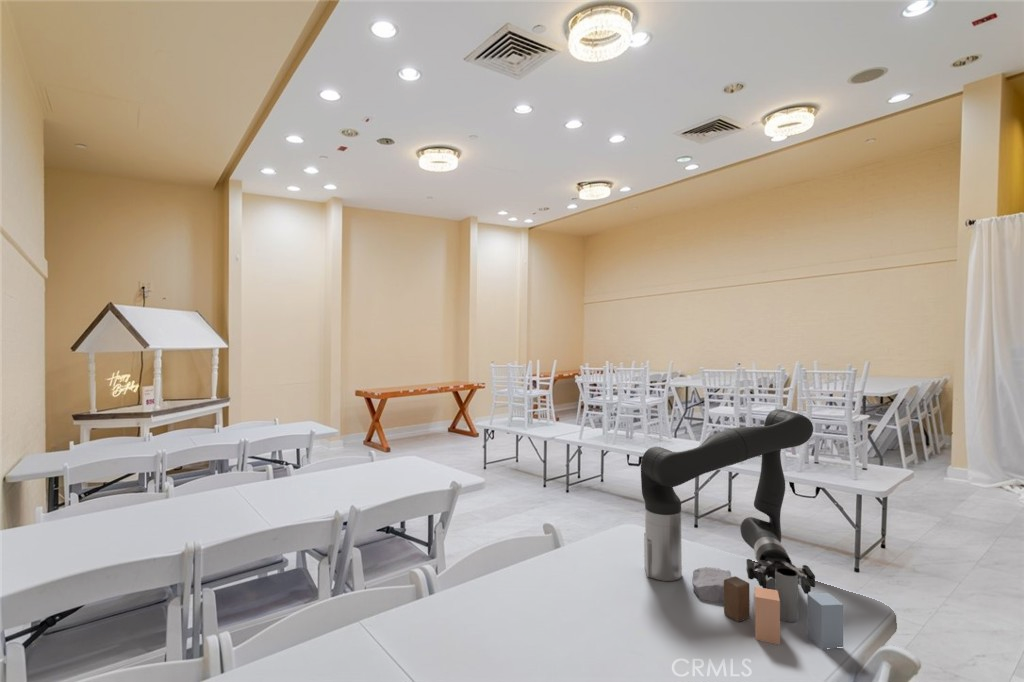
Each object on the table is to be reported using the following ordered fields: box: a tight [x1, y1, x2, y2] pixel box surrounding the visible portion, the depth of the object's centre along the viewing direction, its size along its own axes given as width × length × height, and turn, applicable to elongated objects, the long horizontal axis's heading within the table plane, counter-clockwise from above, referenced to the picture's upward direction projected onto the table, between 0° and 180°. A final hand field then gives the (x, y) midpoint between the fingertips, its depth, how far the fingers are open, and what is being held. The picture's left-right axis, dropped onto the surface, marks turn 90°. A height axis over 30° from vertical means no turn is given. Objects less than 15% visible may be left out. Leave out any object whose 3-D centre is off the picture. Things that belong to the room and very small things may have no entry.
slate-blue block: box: [806, 592, 844, 650], centre depth 104 cm, size 4×4×9 cm
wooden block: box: [723, 576, 751, 623], centre depth 114 cm, size 4×4×8 cm
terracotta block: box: [753, 586, 781, 645], centre depth 106 cm, size 4×4×9 cm
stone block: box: [691, 566, 733, 603], centre depth 126 cm, size 12×5×10 cm
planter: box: [774, 567, 799, 623], centre depth 113 cm, size 4×4×10 cm
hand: (785, 587), depth 114 cm, fingers open, 8 cm apart
